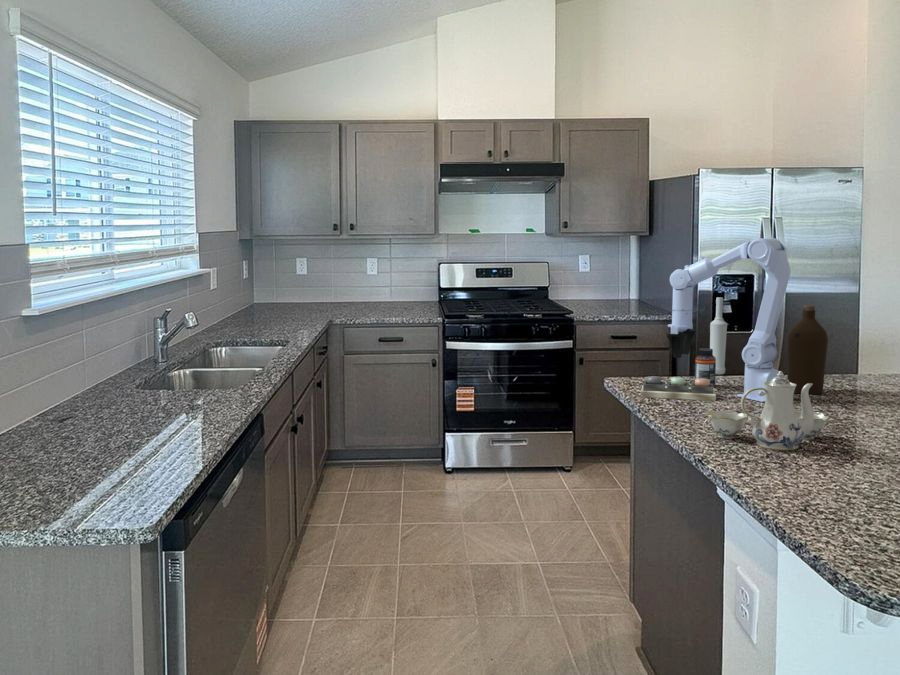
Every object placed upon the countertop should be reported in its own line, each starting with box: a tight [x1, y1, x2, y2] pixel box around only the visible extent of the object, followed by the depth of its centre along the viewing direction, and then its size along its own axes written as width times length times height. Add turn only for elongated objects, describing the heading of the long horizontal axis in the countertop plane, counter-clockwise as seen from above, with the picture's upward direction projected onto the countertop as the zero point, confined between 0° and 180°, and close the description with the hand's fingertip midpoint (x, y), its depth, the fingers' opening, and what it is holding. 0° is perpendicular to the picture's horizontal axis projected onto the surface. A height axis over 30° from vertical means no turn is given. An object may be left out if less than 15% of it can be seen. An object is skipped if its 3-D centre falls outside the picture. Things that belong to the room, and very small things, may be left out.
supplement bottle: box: [694, 347, 716, 388], centre depth 232 cm, size 6×6×11 cm
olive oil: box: [786, 304, 829, 396], centre depth 221 cm, size 11×11×25 cm
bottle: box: [709, 296, 728, 375], centre depth 253 cm, size 5×5×25 cm
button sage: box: [670, 376, 687, 386], centre depth 218 cm, size 4×4×2 cm
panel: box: [640, 380, 717, 402], centre depth 219 cm, size 20×10×3 cm, turn 73°
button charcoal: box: [646, 375, 663, 385], centre depth 220 cm, size 4×4×2 cm
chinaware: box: [702, 370, 837, 451], centre depth 168 cm, size 28×17×17 cm, turn 92°
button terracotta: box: [694, 378, 710, 387], centre depth 217 cm, size 4×4×2 cm
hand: (681, 355), depth 229 cm, fingers open, 7 cm apart
